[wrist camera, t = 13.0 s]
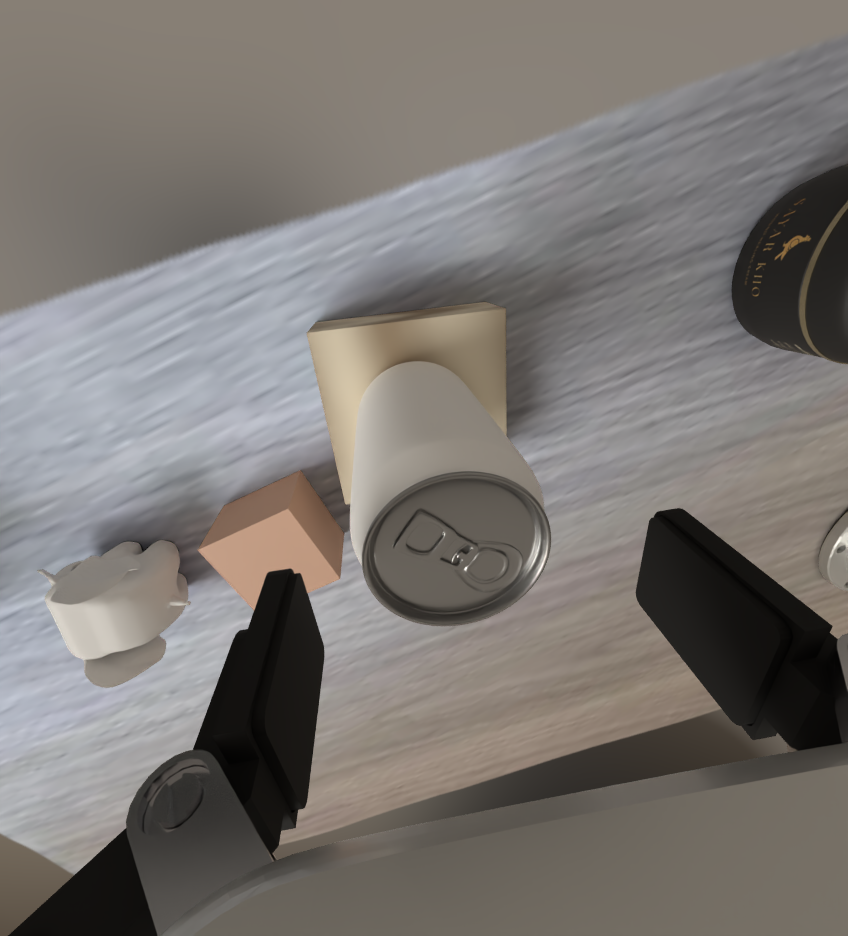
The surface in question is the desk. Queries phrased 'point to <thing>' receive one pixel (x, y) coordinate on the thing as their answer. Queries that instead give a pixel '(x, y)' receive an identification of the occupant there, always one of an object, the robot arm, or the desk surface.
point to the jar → (799, 271)
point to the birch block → (405, 340)
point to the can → (441, 501)
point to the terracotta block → (275, 538)
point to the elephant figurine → (118, 608)
